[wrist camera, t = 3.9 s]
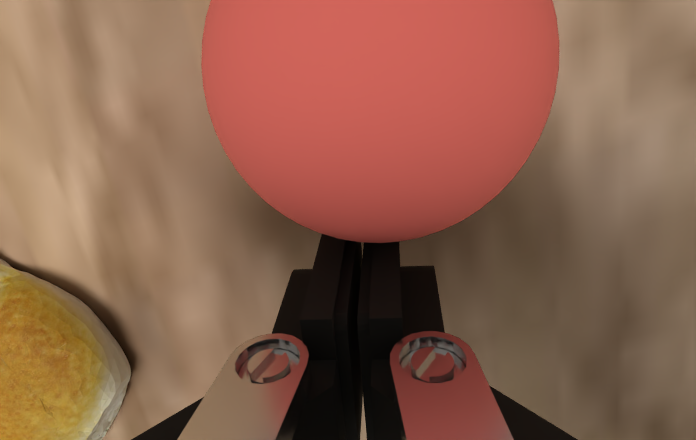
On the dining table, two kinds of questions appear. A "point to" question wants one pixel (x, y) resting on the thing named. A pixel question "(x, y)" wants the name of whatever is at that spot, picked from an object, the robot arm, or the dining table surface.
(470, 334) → the dining table surface
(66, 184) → the dining table surface
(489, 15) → the ball
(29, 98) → the dining table surface
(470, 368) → the robot arm
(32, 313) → the bread roll
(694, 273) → the dining table surface
